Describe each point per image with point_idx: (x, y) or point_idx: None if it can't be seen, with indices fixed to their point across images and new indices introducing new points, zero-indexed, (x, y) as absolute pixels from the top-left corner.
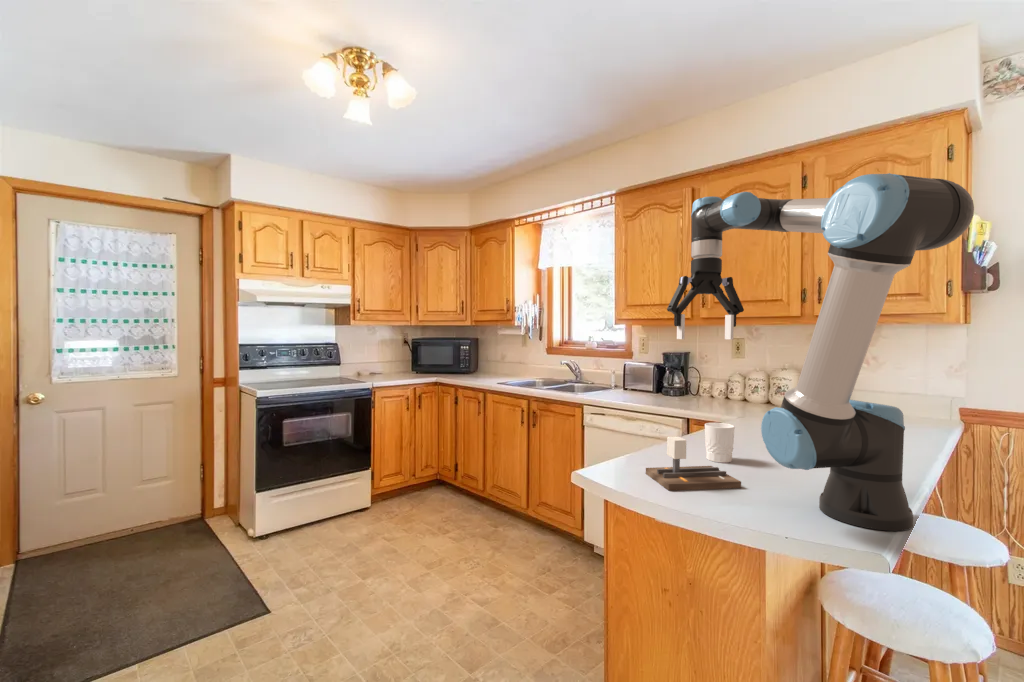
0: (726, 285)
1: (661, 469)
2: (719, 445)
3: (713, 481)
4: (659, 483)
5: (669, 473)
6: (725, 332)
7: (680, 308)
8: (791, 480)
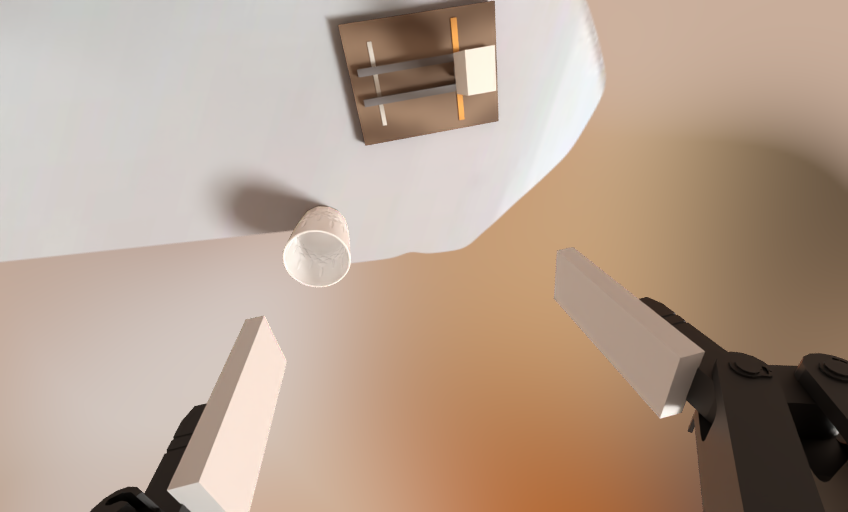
0: None
1: None
2: (328, 217)
3: (397, 23)
4: None
5: None
6: (276, 390)
7: (772, 395)
8: (210, 88)
